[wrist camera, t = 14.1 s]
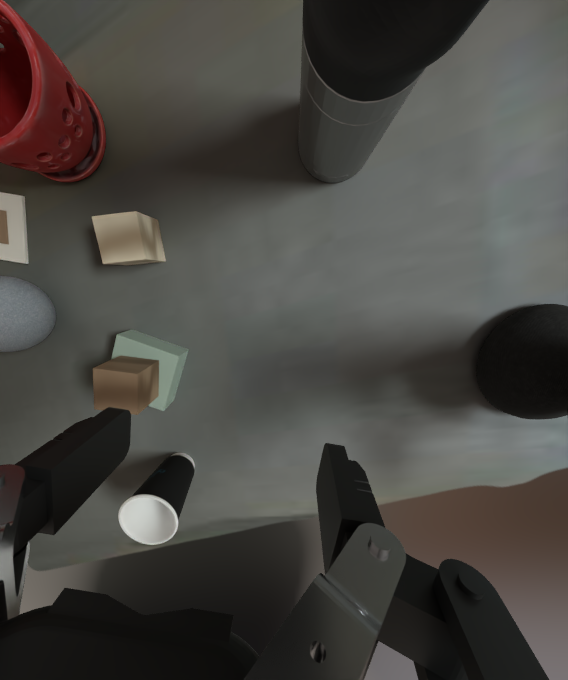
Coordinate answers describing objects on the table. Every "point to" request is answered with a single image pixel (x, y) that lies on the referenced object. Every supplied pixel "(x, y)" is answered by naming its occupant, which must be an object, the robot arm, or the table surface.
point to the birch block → (128, 238)
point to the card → (13, 228)
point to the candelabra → (528, 363)
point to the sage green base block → (159, 350)
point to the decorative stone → (23, 314)
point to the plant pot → (44, 108)
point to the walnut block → (126, 383)
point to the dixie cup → (158, 502)
